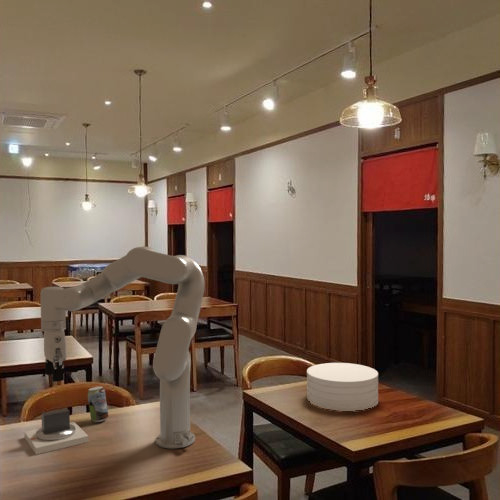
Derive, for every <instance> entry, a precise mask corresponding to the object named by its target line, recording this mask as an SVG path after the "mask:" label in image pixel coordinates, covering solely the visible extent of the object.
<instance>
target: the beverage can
mask: <svg viewBox="0 0 500 500" xmlns="http://www.w3.org/2000/svg"><path fill="white" fill-rule="evenodd" d="M106 397H107V396H106V390H105V388H104V387H103V386H101V385H100V386H95V387H91V388H89V389H88V392H87V400H88V407H89V414H90V420H91V421H92V422H94V423H100V422H103V421H106V420H107V418H109V411H108V404H107V398H106Z"/></svg>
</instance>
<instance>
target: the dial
mask: <svg viewBox="0 0 500 500" xmlns="http://www.w3.org/2000/svg"><path fill="white" fill-rule="evenodd" d="M70 416H71V415H70V409H68V408H62V409H58V410H51V411H46V412H45V411H44V412H41V427H40V428H38V429H39V430H37V432H36V437H37V438H38V439H40V440H45V441H52V440H59V439H64V438H67V437H69V436H71V435H73V434H74V433H75V426H74V425H72V424H70V422H71V421H70V420H71V419H70Z"/></svg>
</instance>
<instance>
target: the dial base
mask: <svg viewBox="0 0 500 500" xmlns="http://www.w3.org/2000/svg"><path fill="white" fill-rule="evenodd" d="M70 424H72V425H74V426H75V433H74V434H73V435H71V436H69V437H67V438H64V439H59V440H52V441H45V440H40V439H38V438H37V437H36V432H37V430H39V429H40V428H36V429H31V430H26V431H24V432H23V433H24V439H25V440H26V442H27V443H28V444H29V447H30V448H31V449H32V451H33V452H34V453H35V455H39V454H43V453H48V452H53V451H56V450H62V449H64V448H65V449H66V448H69V447H70V448H71V447H73V446H79V445H82V444H86V443H89V435H88V434H87V433H86V432H85V431H84V430H83V429H82V428H81V427H80V426H79V425H78V424H77V423H76V422H75V421H70Z"/></svg>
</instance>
